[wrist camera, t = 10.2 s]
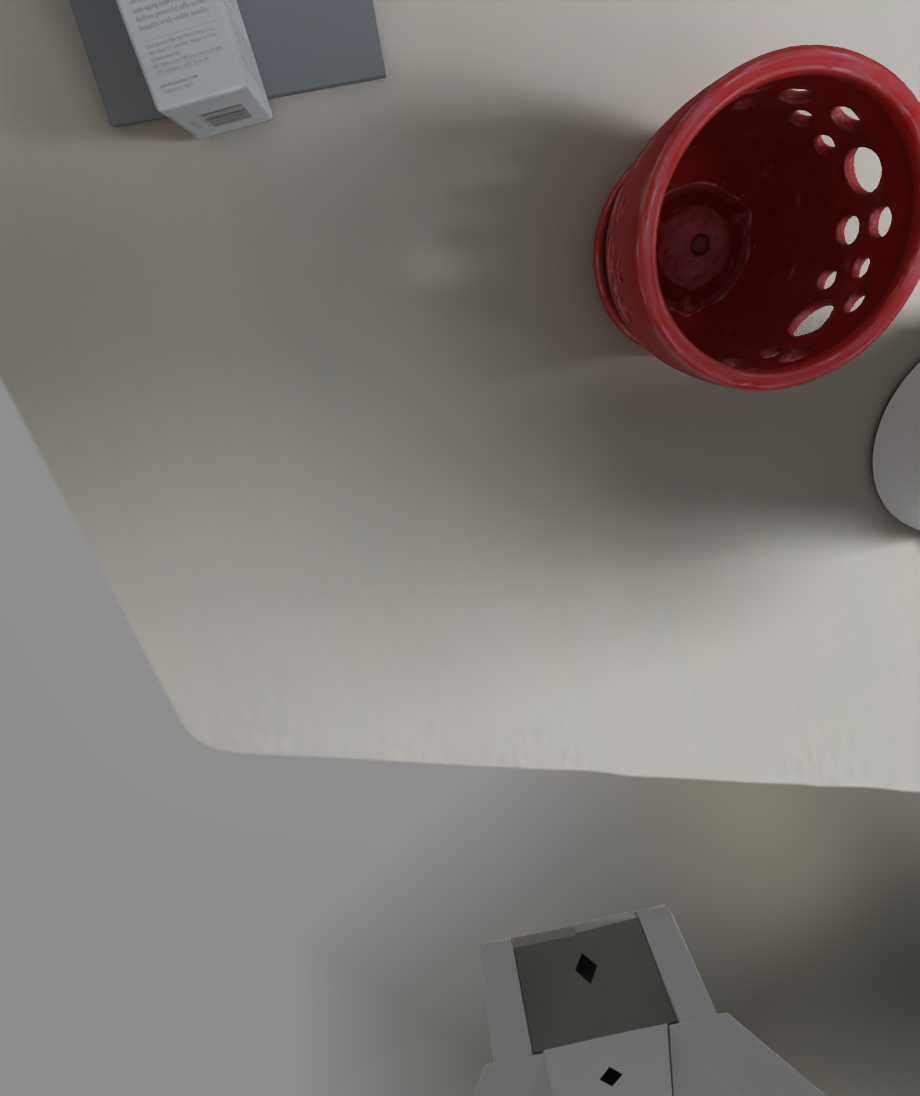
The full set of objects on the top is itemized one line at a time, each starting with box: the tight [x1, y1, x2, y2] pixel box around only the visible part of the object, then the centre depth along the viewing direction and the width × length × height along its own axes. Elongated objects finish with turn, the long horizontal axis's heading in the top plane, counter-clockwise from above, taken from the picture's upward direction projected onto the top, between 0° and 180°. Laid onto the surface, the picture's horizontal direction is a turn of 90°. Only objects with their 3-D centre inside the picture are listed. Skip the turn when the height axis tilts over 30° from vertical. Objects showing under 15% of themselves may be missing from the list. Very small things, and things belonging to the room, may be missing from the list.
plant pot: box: [593, 45, 920, 391], centre depth 32 cm, size 13×13×12 cm
